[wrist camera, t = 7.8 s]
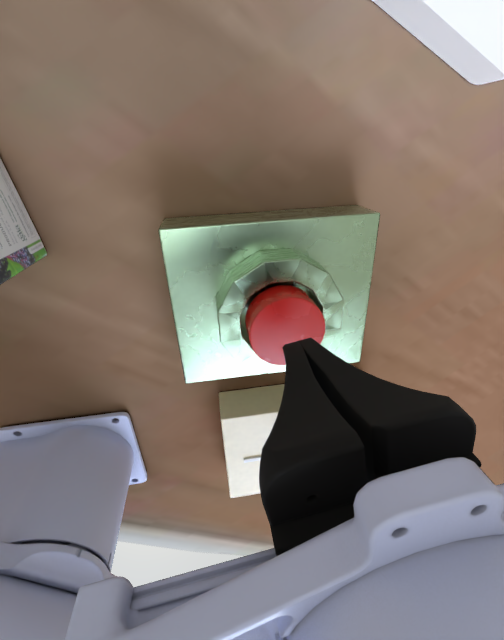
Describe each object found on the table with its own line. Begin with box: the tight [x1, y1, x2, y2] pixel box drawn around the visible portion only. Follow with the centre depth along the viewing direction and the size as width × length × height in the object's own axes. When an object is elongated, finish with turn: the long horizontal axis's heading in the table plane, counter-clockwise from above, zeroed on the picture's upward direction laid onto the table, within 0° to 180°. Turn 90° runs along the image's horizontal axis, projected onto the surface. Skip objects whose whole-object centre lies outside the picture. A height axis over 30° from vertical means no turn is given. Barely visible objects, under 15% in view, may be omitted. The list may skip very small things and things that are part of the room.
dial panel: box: [219, 384, 285, 498], centre depth 27 cm, size 12×9×3 cm
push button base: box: [158, 205, 380, 383], centre depth 20 cm, size 12×10×5 cm
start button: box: [245, 285, 325, 365], centre depth 17 cm, size 4×4×2 cm
